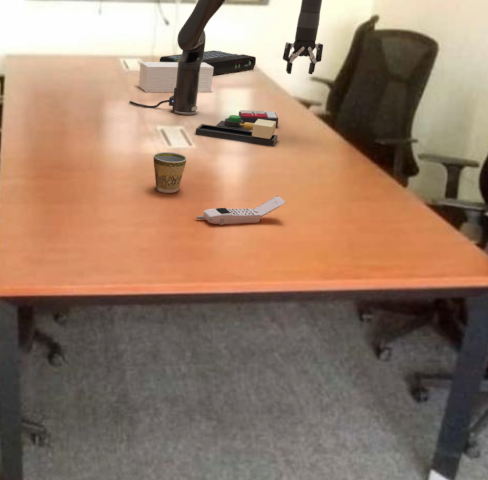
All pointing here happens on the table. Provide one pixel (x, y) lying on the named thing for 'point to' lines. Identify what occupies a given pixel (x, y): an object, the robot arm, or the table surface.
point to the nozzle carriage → (261, 128)
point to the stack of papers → (170, 76)
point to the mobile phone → (241, 213)
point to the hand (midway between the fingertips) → (299, 73)
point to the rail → (233, 135)
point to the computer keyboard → (221, 61)
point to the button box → (231, 124)
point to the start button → (234, 118)
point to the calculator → (257, 116)
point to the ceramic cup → (168, 171)
